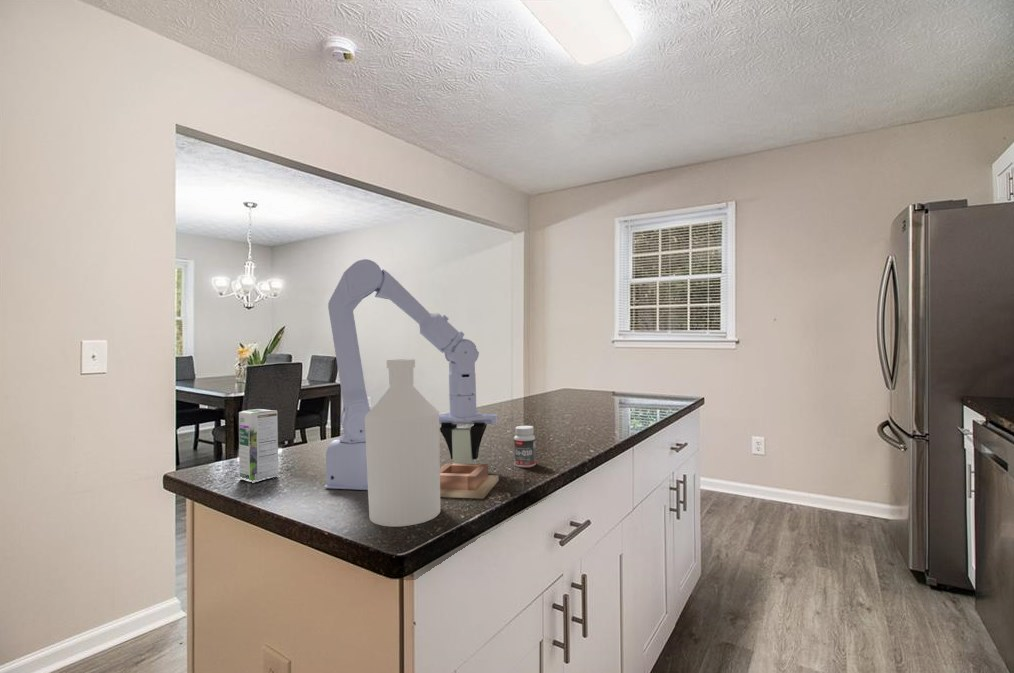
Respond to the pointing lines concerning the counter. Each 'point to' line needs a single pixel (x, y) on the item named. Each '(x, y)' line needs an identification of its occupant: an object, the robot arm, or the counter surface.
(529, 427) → the pill bottle
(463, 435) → the peg
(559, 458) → the counter surface
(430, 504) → the bottle
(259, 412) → the syrup box
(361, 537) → the counter surface
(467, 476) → the socket block
